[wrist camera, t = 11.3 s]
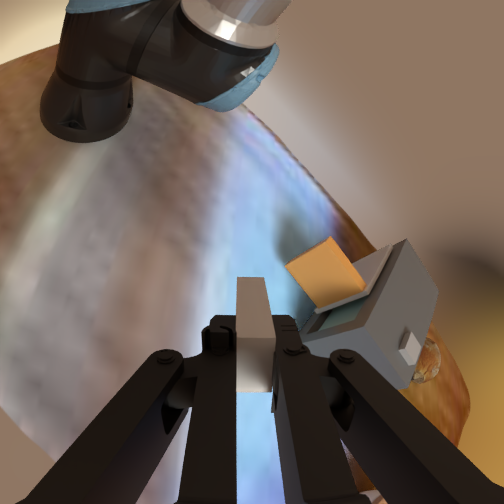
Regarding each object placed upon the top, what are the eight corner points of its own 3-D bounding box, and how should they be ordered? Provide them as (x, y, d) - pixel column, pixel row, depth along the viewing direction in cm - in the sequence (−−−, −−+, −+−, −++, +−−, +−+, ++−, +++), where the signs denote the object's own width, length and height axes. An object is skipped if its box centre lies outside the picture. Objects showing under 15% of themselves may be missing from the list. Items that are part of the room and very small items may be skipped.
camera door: (280, 268, 45) (328, 239, 37) (318, 229, 52) (360, 201, 45) (316, 314, 45) (368, 294, 37) (348, 269, 53) (393, 247, 45)
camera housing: (287, 346, 43) (370, 324, 31) (347, 265, 56) (413, 231, 45) (330, 396, 43) (414, 386, 32) (379, 308, 57) (445, 283, 45)
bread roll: (411, 381, 60) (443, 371, 56) (407, 392, 52) (445, 381, 48) (403, 340, 63) (435, 330, 60) (398, 345, 55) (435, 333, 51)
